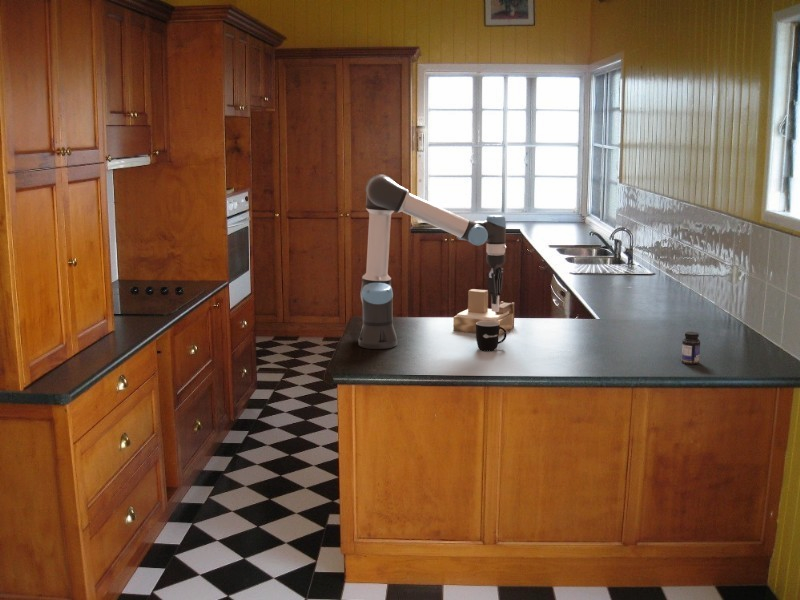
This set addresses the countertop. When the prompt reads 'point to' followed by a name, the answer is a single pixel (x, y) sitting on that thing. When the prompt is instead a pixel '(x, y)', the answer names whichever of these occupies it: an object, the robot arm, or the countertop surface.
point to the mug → (488, 335)
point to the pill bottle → (691, 348)
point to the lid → (480, 307)
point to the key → (504, 308)
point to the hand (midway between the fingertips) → (495, 311)
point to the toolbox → (470, 323)
